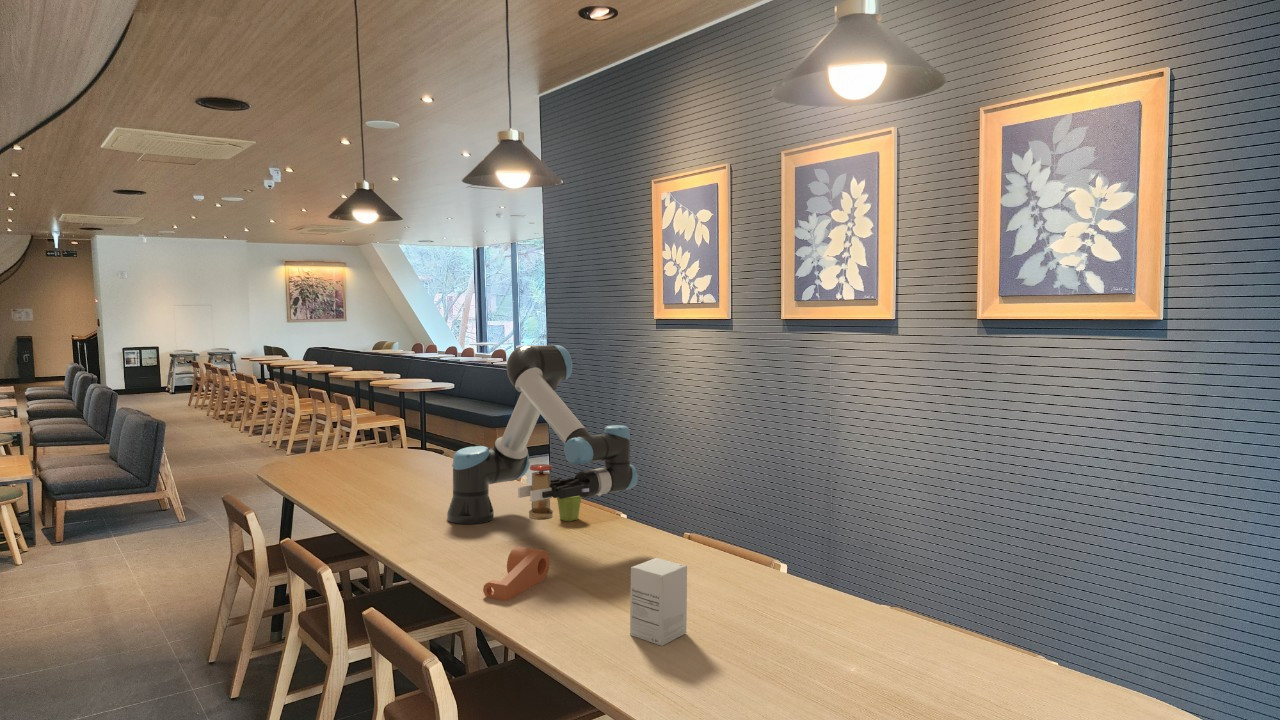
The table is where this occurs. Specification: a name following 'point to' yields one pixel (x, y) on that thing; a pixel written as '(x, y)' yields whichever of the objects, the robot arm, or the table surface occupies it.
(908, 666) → the table surface
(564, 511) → the plant pot
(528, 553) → the orange holed part
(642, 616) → the supplement box
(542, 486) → the valve
